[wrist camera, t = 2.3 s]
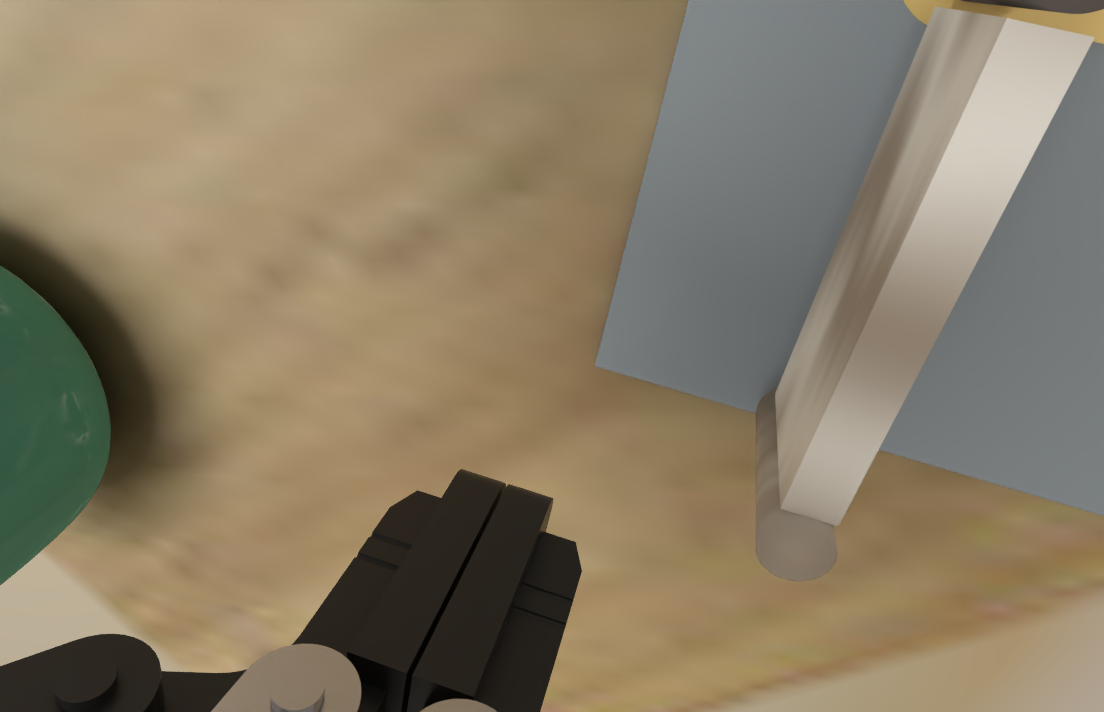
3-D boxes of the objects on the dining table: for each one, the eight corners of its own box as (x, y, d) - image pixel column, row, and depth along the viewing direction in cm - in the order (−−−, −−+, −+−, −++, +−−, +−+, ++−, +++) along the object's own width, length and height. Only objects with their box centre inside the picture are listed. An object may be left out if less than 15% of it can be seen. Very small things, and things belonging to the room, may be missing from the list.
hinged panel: (959, -99, 14) (1065, -137, 9) (1044, -81, 14) (1198, -112, 9) (747, 427, 20) (745, 566, 16) (804, 444, 20) (819, 590, 15)
